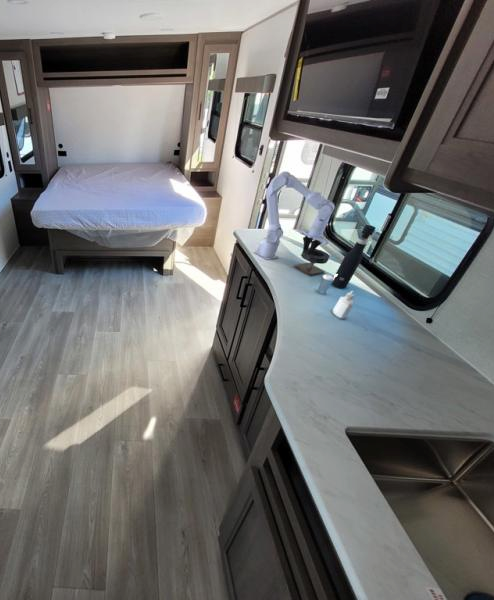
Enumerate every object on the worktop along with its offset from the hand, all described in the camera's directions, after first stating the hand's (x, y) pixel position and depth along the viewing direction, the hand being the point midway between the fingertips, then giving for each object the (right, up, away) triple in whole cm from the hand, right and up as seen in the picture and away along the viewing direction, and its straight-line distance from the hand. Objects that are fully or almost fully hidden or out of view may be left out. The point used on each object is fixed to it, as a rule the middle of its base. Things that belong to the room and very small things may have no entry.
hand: (307, 251), depth 160 cm
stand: (+2, -9, +1) cm, 10 cm away
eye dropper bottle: (-6, -32, -30) cm, 44 cm away
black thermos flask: (+9, -18, -10) cm, 22 cm away
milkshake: (-4, -22, -16) cm, 27 cm away
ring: (+2, -4, -3) cm, 5 cm away
